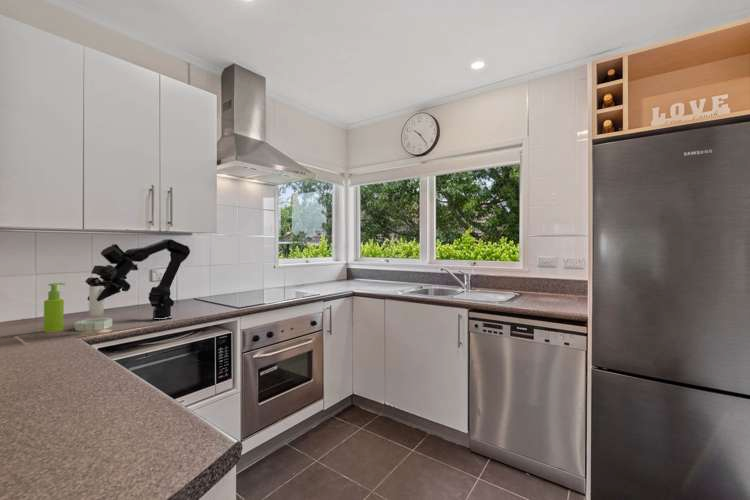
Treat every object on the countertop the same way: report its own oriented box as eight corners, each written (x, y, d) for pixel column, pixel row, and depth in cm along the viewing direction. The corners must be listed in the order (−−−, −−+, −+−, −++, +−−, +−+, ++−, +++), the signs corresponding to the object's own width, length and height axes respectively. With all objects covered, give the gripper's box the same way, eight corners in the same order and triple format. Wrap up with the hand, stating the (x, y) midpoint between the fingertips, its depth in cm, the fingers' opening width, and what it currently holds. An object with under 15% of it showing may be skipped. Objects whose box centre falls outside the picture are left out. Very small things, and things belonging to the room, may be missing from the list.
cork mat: (107, 329, 145) (107, 327, 145) (116, 332, 140) (116, 331, 140) (77, 333, 137) (77, 332, 137) (85, 337, 131) (85, 335, 131)
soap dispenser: (69, 329, 145) (70, 282, 145) (52, 333, 138) (53, 284, 138) (57, 329, 145) (57, 282, 145) (39, 333, 138) (40, 283, 139)
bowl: (106, 324, 155) (106, 317, 155) (115, 328, 148) (115, 320, 148) (71, 329, 145) (71, 321, 145) (80, 333, 138) (80, 324, 138)
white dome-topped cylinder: (101, 313, 142) (101, 285, 142) (105, 314, 139) (105, 286, 140) (87, 314, 139) (87, 286, 139) (91, 316, 136) (91, 287, 136)
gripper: (90, 258, 145) (60, 287, 135) (123, 258, 140) (94, 288, 130) (109, 275, 153) (82, 304, 142) (141, 276, 148) (115, 305, 137)
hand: (92, 300), depth 138 cm, fingers closed on white dome-topped cylinder, 5 cm apart
